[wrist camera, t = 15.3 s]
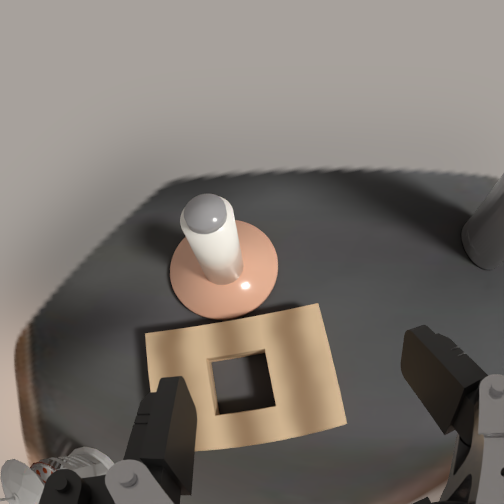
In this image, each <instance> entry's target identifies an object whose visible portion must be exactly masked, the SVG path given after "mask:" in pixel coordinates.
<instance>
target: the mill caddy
mask: <svg viewBox="0 0 504 504" xmlns="http://www.w3.org/2000/svg"><path fill="white" fill-rule="evenodd" d="M145 338H146V351H147V362H148V373H149V382H150V390H151V392H156V391H157V388H158V384H159V381H160V379H161V378H163V377H175V376H182V377H183V378H184V380H185V382H186V385H187V387H188V390H189V392H190V395H191V397H192V400H193V402H194V404H195V407H196V412H197V430H196V441H195V451H204V450H216V449H226V448H234V447H242V446H249V445H256V444H262V443H268V442H273V441H279V440H284V439H289V438H294V437H298V436H303V435H307V434H311V433H315V432H319V431H323V430H327V429H330V428H334V427H338V426H341V425H344V424H347V422H346V417H345V412H344V408H343V403H342V398H341V394H340V390H339V385H338V381H337V376H336V372H335V368H334V364H333V360H332V356H331V351H330V347H329V343H328V339H327V335H326V332H325V328H324V324H323V320H322V316H321V312H320V309H319V305H318V303H316V304H312V305H307V306H303V307H298V308H293V309H289V310H284V311H279V312H274V313H269V314H264V315H258V316H253V317H248V318H242V319H237V320H231V321H225V322H219V323H213V324H207V325H201V326H194V327H188V328H181V329H174V330H167V331H160V332H152V333H145ZM262 353H265V354H266V359H267V364H268V369H269V374H270V379H271V384H272V389H273V394H274V399H275V404H276V406H271V407H265V408H260V409H254V410H248V411H241V412H235V413H227V414H220V413H219V407H218V401H217V395H216V389H215V383H214V377H213V371H212V364H211V362H215V361H221V360H228V359H234V358H240V357H246V356H251V355H257V354H262Z"/></svg>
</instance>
